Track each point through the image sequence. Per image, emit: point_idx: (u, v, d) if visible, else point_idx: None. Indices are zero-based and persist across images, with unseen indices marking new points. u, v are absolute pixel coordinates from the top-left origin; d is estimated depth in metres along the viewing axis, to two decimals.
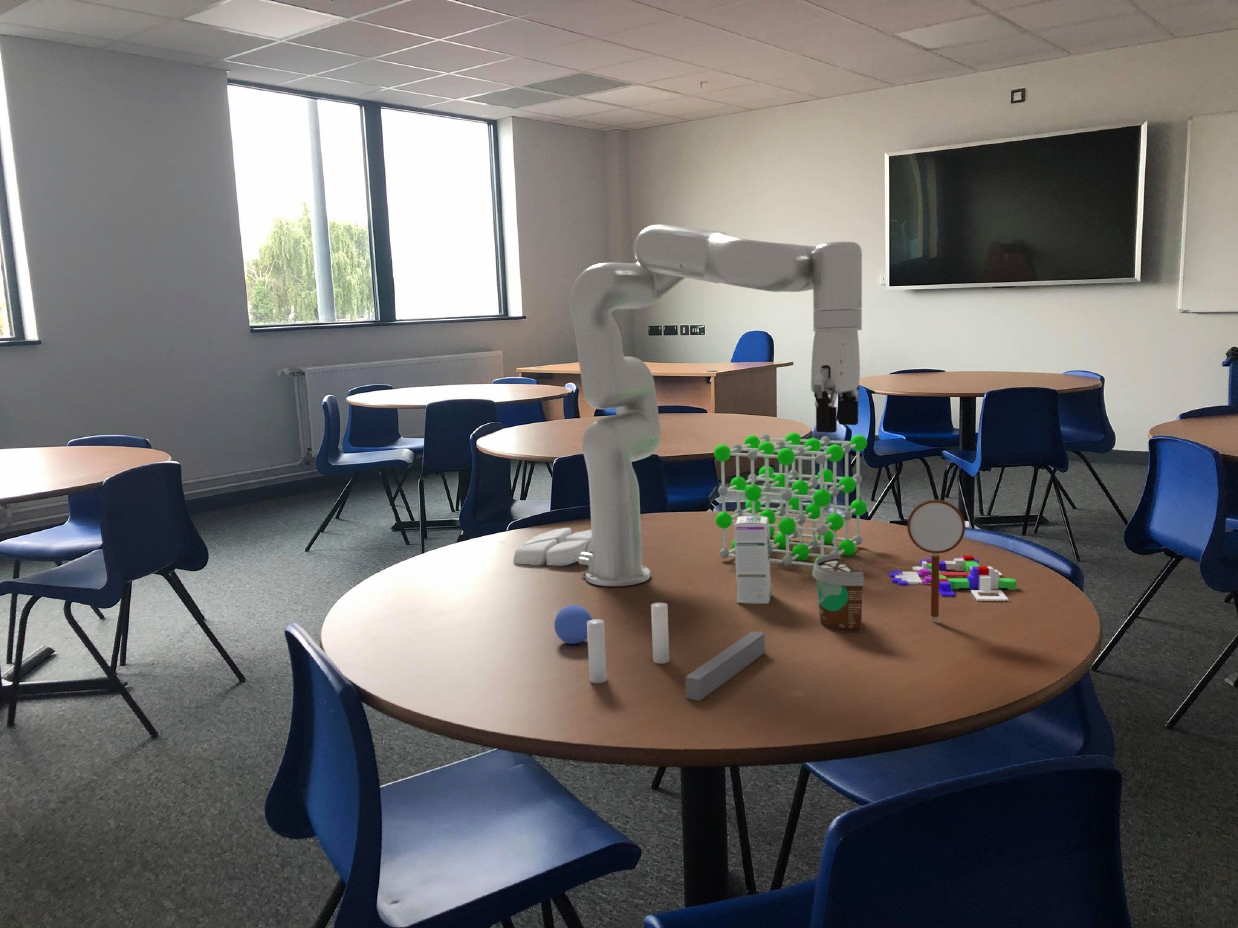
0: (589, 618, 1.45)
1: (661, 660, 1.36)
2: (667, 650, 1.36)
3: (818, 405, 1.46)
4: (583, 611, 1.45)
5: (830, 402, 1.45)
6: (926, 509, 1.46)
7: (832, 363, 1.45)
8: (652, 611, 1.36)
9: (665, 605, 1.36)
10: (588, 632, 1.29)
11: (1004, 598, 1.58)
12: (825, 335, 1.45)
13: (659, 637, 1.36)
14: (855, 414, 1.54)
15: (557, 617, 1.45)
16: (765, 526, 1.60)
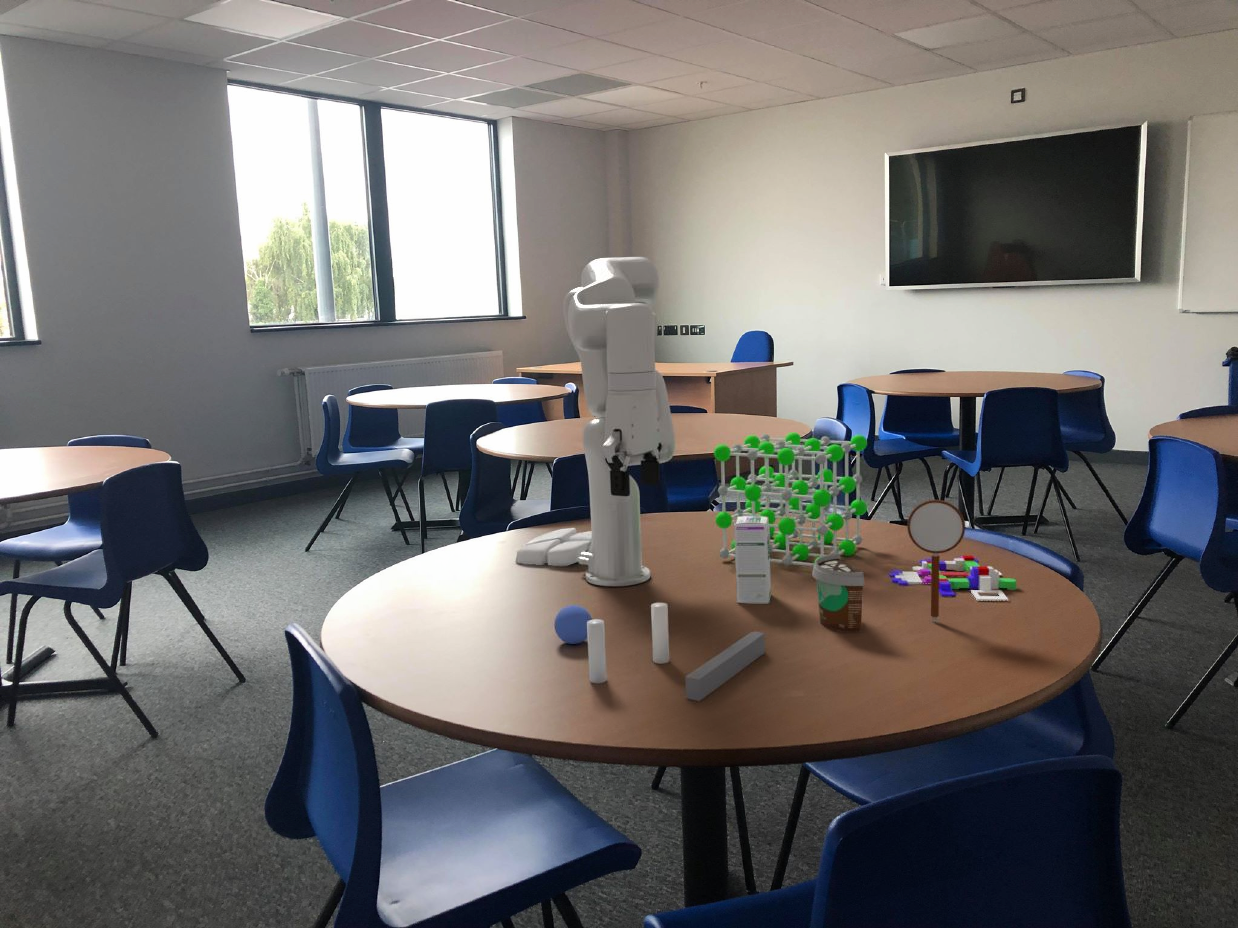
0: (589, 618, 1.45)
1: (661, 660, 1.36)
2: (667, 650, 1.36)
3: (610, 469, 1.44)
4: (583, 611, 1.45)
5: (621, 466, 1.43)
6: (926, 509, 1.46)
7: (623, 427, 1.43)
8: (652, 611, 1.36)
9: (665, 605, 1.36)
10: (588, 632, 1.29)
11: (1004, 598, 1.58)
12: (616, 398, 1.43)
13: (659, 637, 1.36)
14: (656, 474, 1.52)
15: (557, 617, 1.45)
16: (765, 526, 1.60)
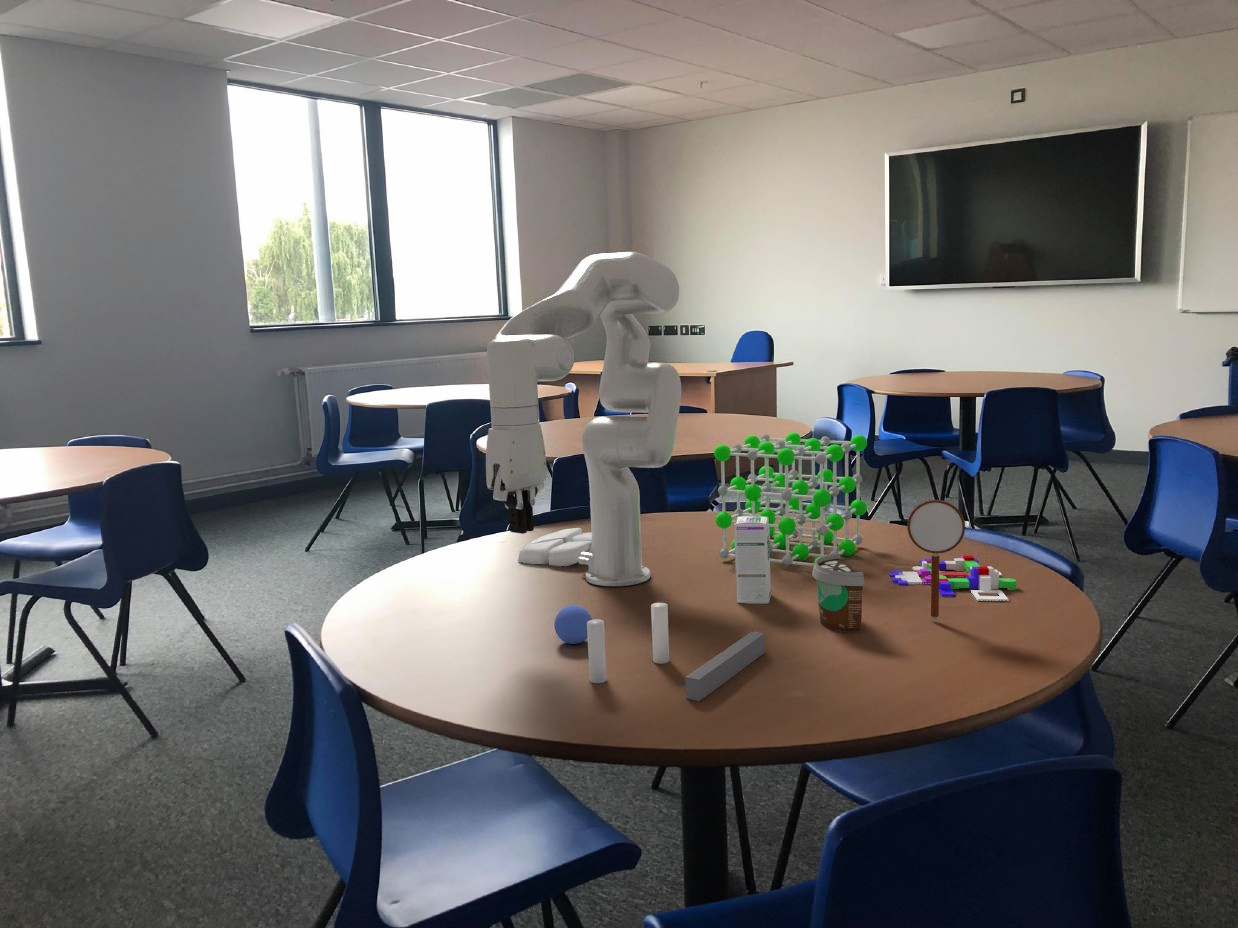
0: (589, 618, 1.45)
1: (661, 660, 1.36)
2: (667, 650, 1.36)
3: (509, 508, 1.47)
4: (583, 611, 1.45)
5: (517, 507, 1.46)
6: (926, 509, 1.46)
7: (501, 462, 1.42)
8: (652, 611, 1.36)
9: (665, 605, 1.36)
10: (588, 632, 1.29)
11: (1004, 598, 1.58)
12: (495, 433, 1.43)
13: (659, 637, 1.36)
14: (529, 520, 1.48)
15: (557, 617, 1.45)
16: (765, 526, 1.60)
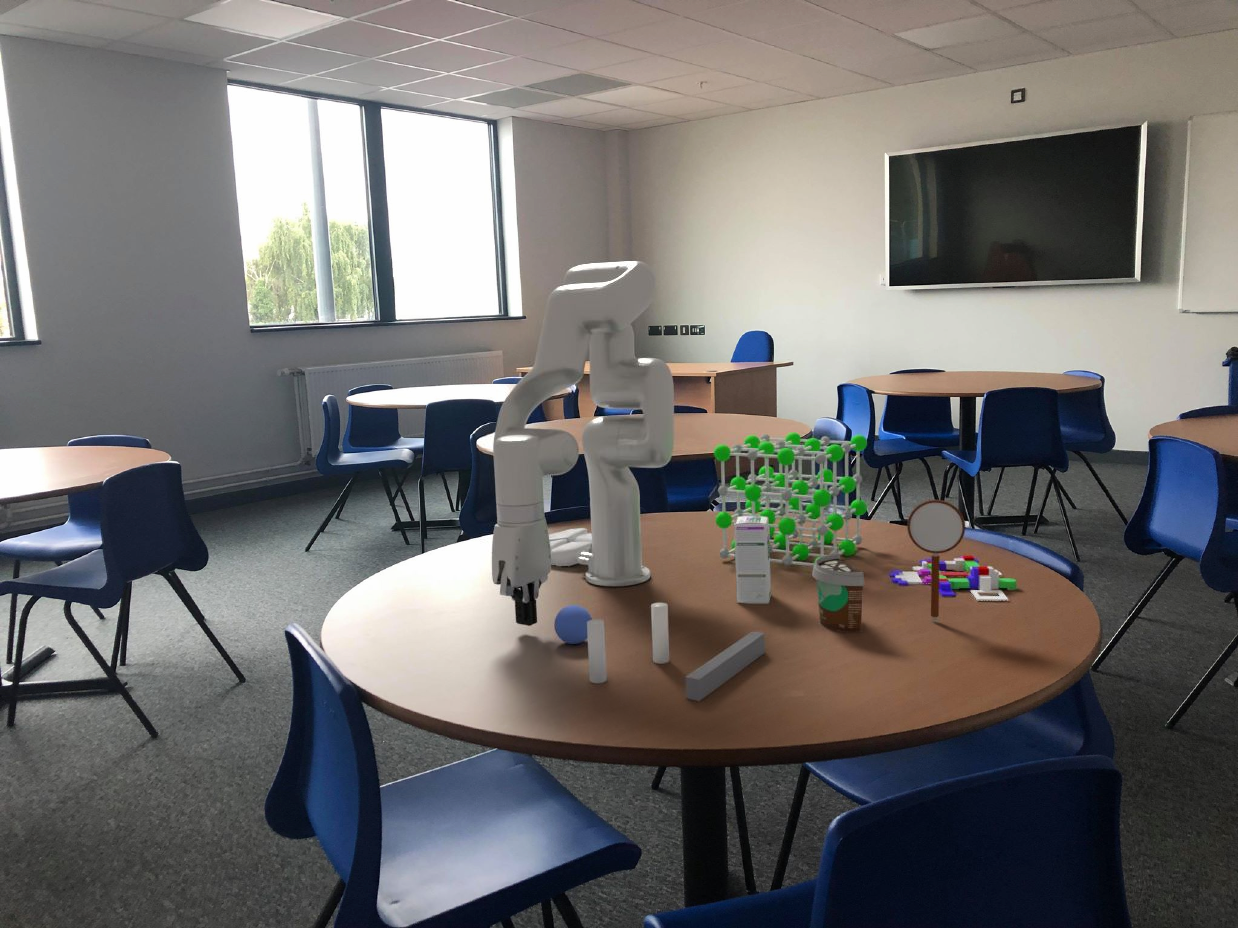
0: (589, 618, 1.45)
1: (661, 660, 1.36)
2: (667, 650, 1.36)
3: (516, 601, 1.50)
4: (583, 611, 1.45)
5: (523, 601, 1.49)
6: (926, 509, 1.46)
7: (507, 559, 1.45)
8: (652, 611, 1.36)
9: (665, 605, 1.36)
10: (588, 632, 1.29)
11: (1004, 598, 1.58)
12: (501, 530, 1.45)
13: (659, 637, 1.36)
14: (533, 613, 1.50)
15: (557, 617, 1.45)
16: (765, 526, 1.60)
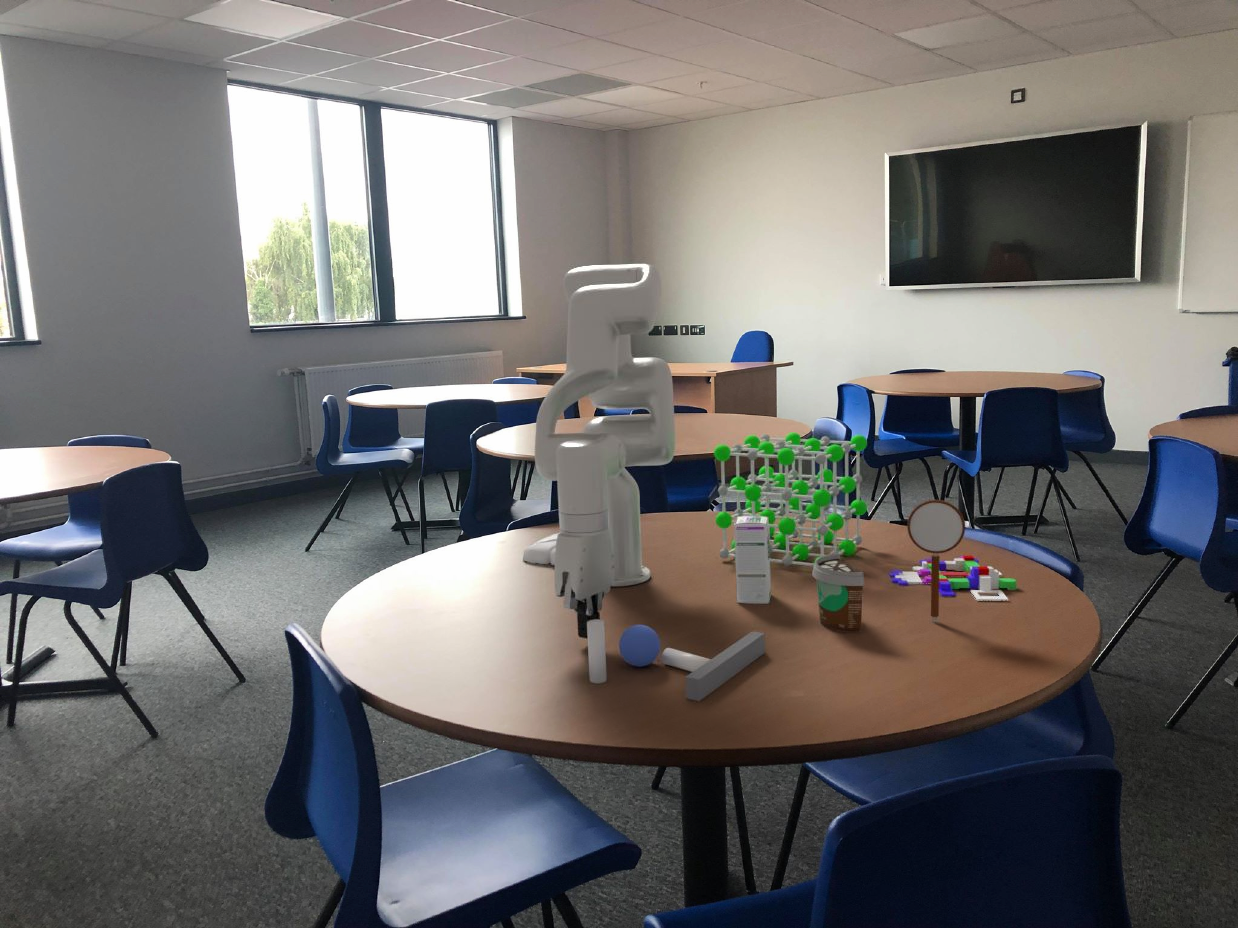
0: None
1: None
2: None
3: (578, 613, 1.43)
4: None
5: (587, 614, 1.42)
6: (926, 509, 1.46)
7: (572, 570, 1.38)
8: None
9: None
10: (588, 632, 1.29)
11: (1004, 598, 1.58)
12: (565, 540, 1.38)
13: (685, 669, 1.33)
14: None
15: None
16: (765, 526, 1.60)
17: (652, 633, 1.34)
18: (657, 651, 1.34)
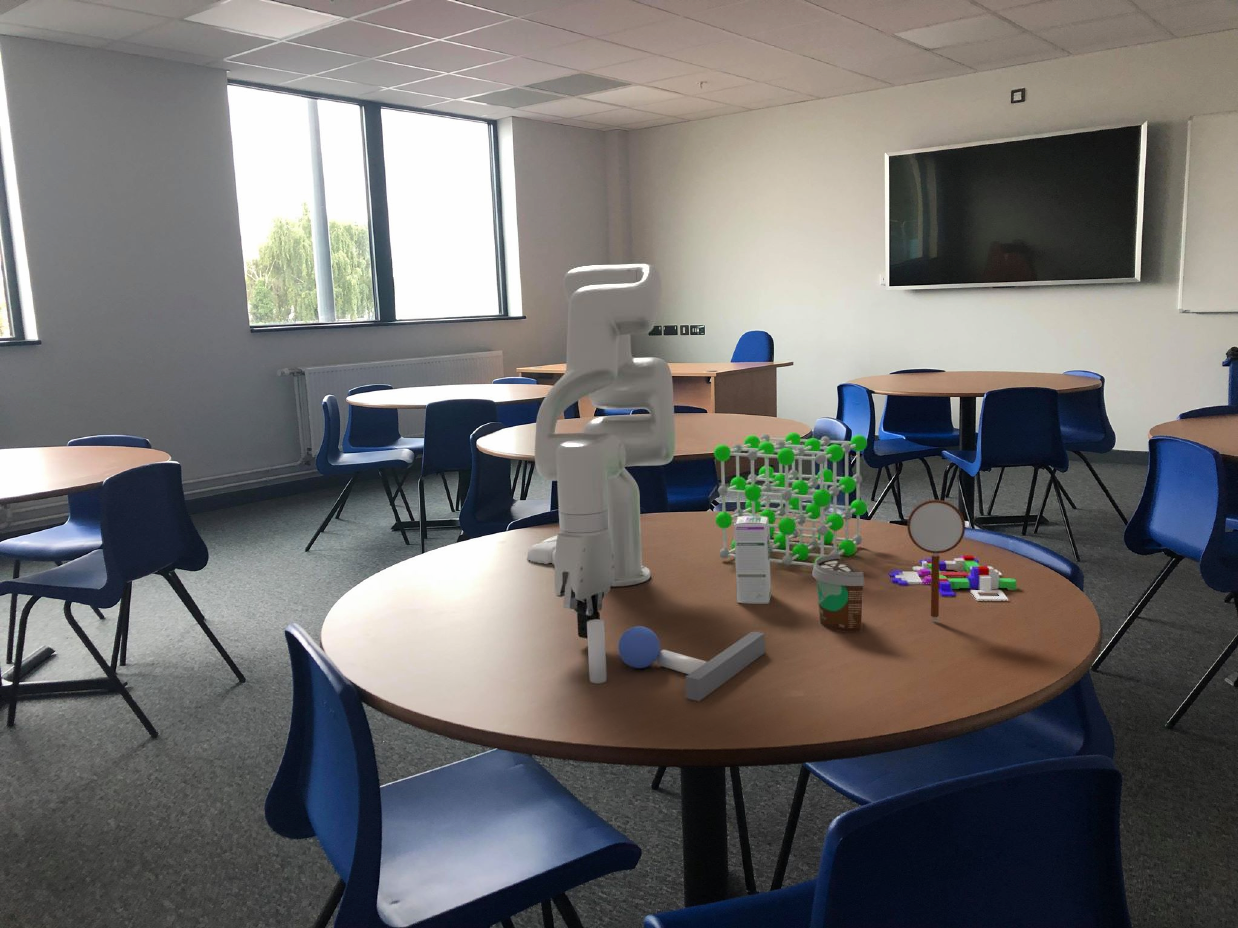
0: (629, 629, 1.35)
1: None
2: None
3: (578, 613, 1.43)
4: None
5: (587, 614, 1.42)
6: (926, 509, 1.46)
7: (572, 570, 1.38)
8: None
9: None
10: (588, 632, 1.29)
11: (1004, 598, 1.58)
12: (565, 540, 1.38)
13: None
14: None
15: None
16: (765, 526, 1.60)
17: (651, 637, 1.33)
18: (657, 654, 1.34)
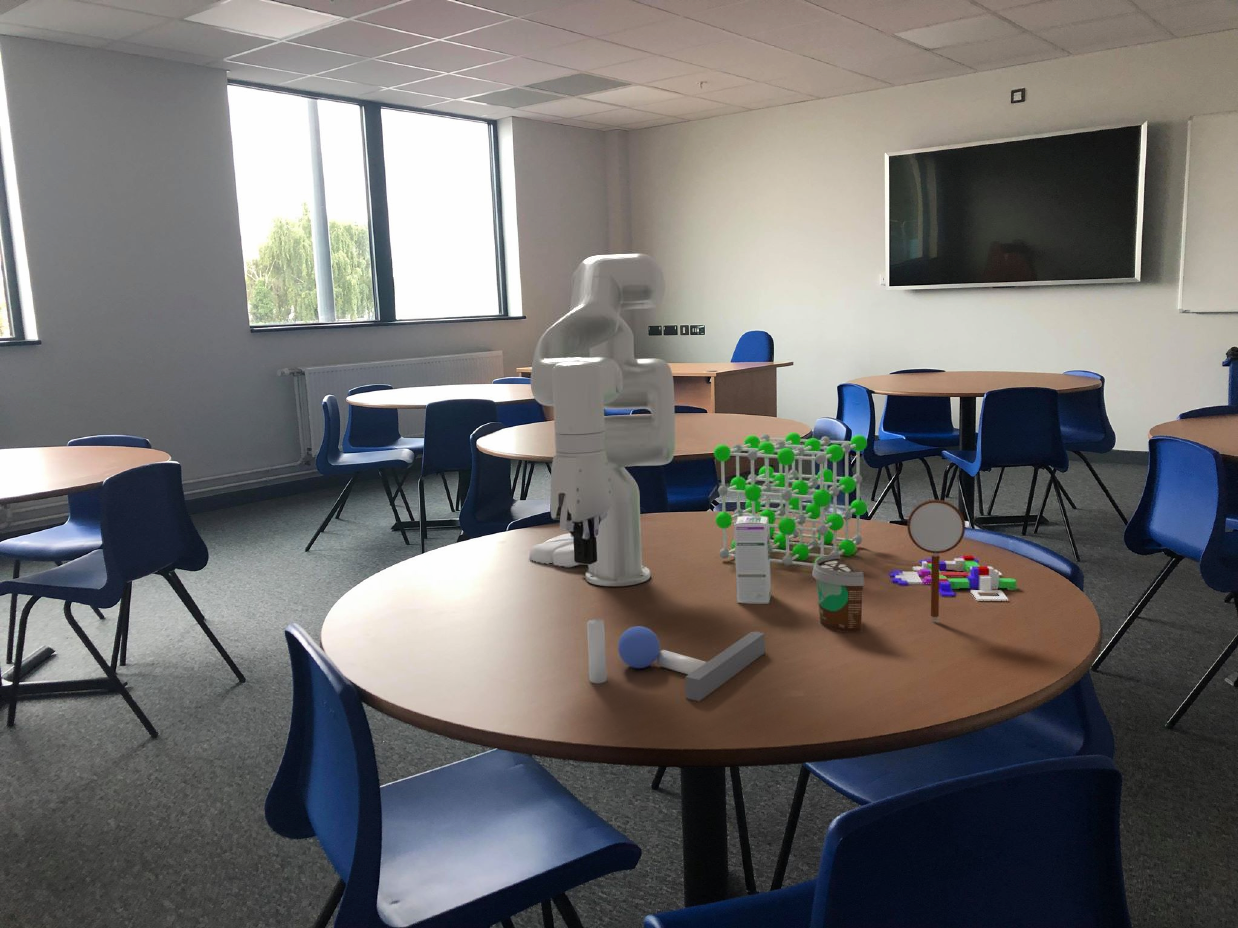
0: (628, 629, 1.35)
1: None
2: None
3: (575, 538, 1.41)
4: None
5: (584, 537, 1.40)
6: (926, 509, 1.46)
7: (568, 491, 1.36)
8: None
9: None
10: (588, 632, 1.29)
11: (1004, 598, 1.58)
12: (561, 461, 1.36)
13: None
14: (593, 551, 1.42)
15: None
16: (765, 526, 1.60)
17: (651, 637, 1.33)
18: (657, 654, 1.34)
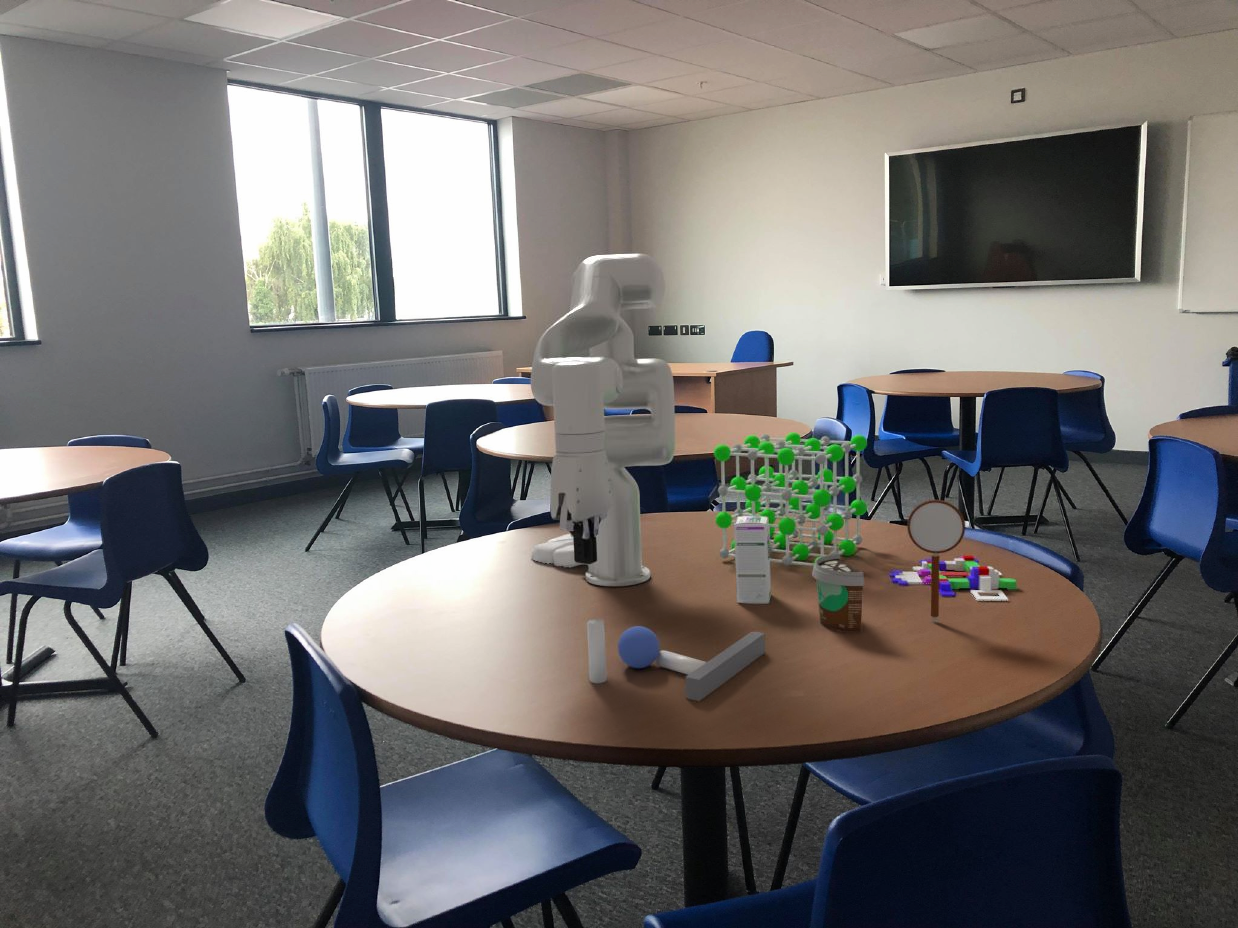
0: (628, 629, 1.35)
1: None
2: None
3: (575, 538, 1.41)
4: None
5: (584, 537, 1.40)
6: (926, 509, 1.46)
7: (568, 491, 1.36)
8: None
9: None
10: (588, 632, 1.29)
11: (1004, 598, 1.58)
12: (561, 461, 1.36)
13: None
14: (593, 551, 1.42)
15: None
16: (765, 526, 1.60)
17: (650, 636, 1.33)
18: (656, 653, 1.34)
